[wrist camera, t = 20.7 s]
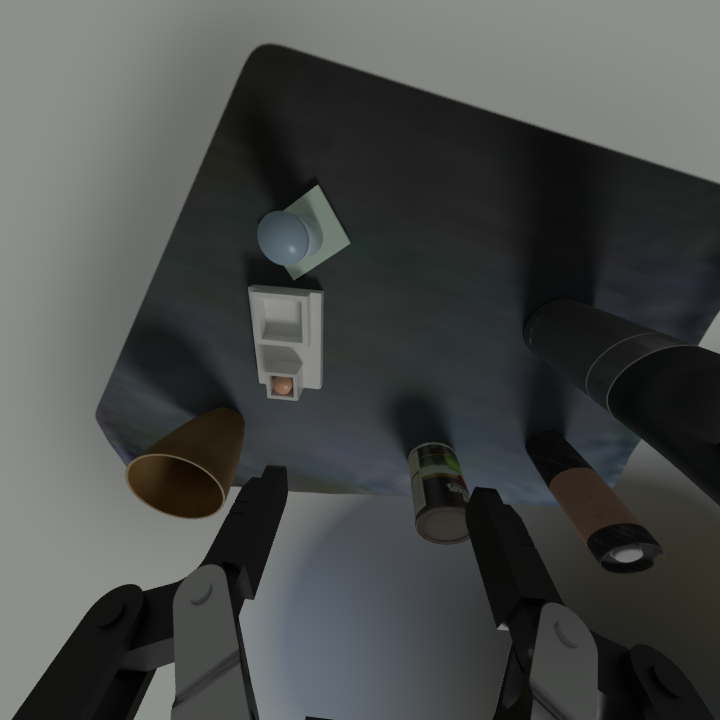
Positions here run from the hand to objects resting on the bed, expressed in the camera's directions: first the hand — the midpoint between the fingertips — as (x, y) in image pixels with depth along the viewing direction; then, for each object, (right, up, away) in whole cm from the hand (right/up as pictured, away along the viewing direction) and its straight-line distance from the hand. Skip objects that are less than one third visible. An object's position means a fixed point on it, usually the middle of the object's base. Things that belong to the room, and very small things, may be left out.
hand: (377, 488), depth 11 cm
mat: (-8, +23, +26) cm, 36 cm away
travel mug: (+36, -11, +41) cm, 56 cm away
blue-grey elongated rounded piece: (-8, +23, +25) cm, 35 cm away
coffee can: (+14, -15, +44) cm, 49 cm away
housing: (-13, +9, +33) cm, 37 cm away
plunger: (-13, +3, +34) cm, 36 cm away
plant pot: (-28, -7, +43) cm, 52 cm away
